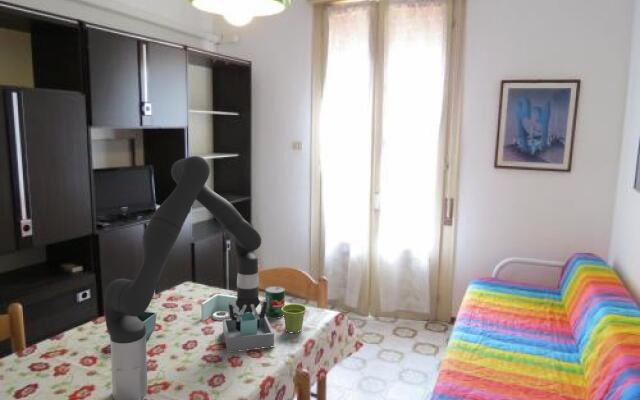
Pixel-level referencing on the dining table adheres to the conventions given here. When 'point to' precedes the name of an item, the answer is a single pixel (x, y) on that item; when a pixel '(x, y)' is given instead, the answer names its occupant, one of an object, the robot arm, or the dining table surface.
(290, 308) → the plant pot
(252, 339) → the grey open tray
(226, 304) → the right angle wall
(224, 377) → the dining table surface
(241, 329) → the teal crate
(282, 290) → the canned tomato
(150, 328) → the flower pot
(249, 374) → the dining table surface
